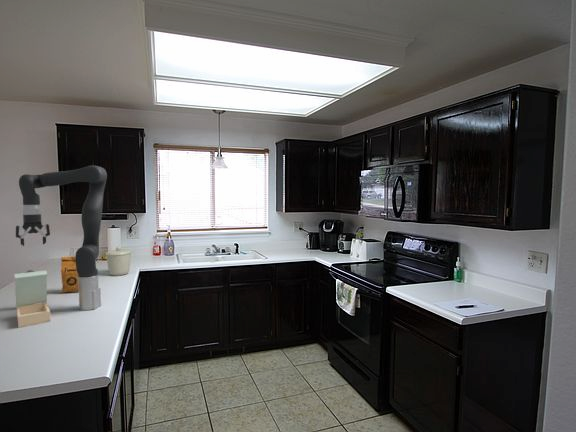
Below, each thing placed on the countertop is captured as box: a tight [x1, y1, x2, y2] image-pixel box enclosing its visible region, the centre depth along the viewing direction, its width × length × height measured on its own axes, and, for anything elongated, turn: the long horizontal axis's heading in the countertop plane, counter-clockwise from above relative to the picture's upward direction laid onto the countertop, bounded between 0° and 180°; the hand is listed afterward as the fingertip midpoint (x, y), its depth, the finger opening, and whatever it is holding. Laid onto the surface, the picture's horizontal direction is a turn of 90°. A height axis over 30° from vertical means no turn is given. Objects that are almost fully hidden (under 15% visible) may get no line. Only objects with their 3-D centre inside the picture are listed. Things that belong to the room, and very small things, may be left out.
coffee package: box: [60, 256, 79, 294], centre depth 215 cm, size 10×12×22 cm
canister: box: [105, 246, 133, 277], centre depth 261 cm, size 18×18×21 cm
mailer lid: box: [14, 269, 48, 308], centre depth 172 cm, size 19×12×9 cm
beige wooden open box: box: [16, 301, 51, 328], centre depth 167 cm, size 18×12×5 cm, turn 39°
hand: (33, 244), depth 179 cm, fingers open, 8 cm apart
